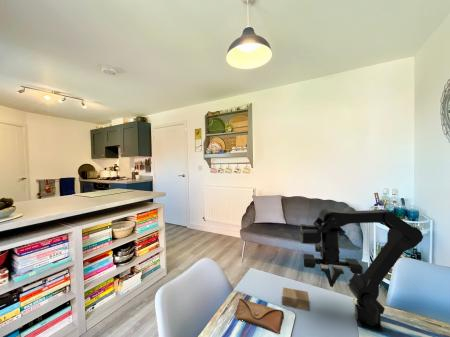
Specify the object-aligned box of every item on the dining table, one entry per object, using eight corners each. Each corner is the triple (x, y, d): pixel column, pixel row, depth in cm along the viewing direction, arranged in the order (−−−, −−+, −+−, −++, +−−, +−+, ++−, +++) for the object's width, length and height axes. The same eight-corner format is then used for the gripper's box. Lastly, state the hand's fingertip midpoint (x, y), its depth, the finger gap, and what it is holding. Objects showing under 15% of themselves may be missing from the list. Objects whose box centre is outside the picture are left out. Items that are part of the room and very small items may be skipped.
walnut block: (307, 291, 80) (282, 287, 83) (309, 301, 74) (282, 296, 78) (308, 301, 80) (283, 296, 83) (309, 311, 74) (282, 305, 78)
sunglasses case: (231, 319, 71) (234, 298, 74) (237, 317, 76) (239, 297, 79) (281, 335, 64) (282, 311, 67) (283, 331, 69) (284, 309, 72)
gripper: (352, 238, 75) (353, 278, 75) (301, 234, 81) (302, 271, 81) (362, 250, 64) (364, 296, 64) (303, 244, 70) (304, 287, 70)
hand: (331, 286), depth 70 cm, fingers closed
